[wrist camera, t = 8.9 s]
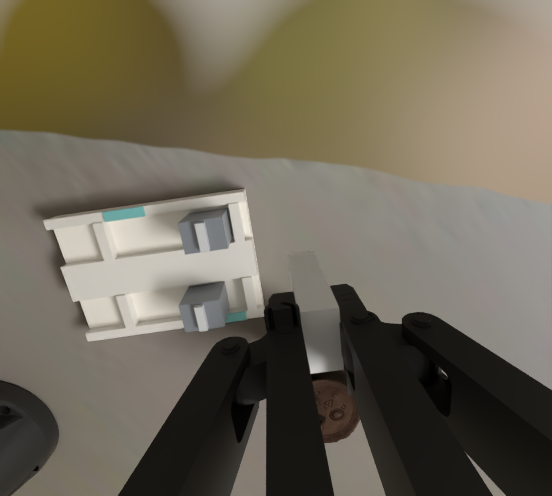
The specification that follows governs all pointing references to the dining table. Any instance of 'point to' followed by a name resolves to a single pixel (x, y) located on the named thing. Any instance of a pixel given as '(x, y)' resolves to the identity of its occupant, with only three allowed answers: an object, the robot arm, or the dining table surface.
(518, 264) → the dining table surface
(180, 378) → the dining table surface
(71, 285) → the switch bank
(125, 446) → the dining table surface
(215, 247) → the tab
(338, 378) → the coffee cup
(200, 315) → the tab
